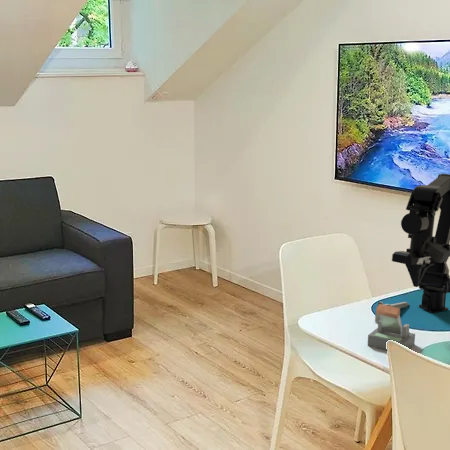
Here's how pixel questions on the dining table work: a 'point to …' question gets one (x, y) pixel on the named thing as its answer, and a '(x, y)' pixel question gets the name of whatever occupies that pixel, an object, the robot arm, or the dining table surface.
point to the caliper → (397, 305)
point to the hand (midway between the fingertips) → (416, 286)
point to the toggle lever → (390, 319)
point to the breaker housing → (390, 337)
